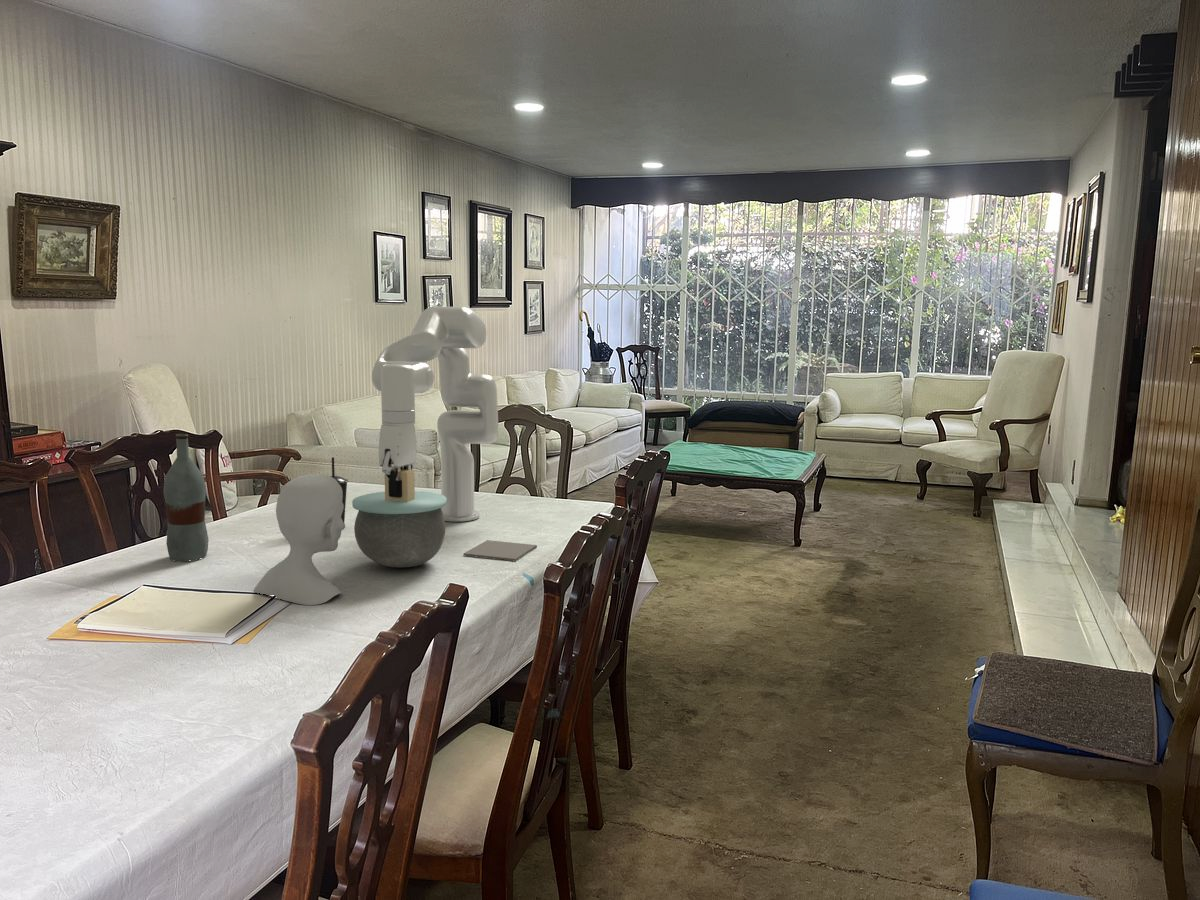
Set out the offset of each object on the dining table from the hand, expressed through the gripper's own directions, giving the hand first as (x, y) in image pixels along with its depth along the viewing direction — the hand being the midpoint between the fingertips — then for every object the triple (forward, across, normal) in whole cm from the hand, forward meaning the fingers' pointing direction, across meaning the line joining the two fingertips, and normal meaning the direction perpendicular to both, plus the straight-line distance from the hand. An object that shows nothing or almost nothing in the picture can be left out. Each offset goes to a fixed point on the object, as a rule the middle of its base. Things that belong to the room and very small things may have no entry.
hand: (399, 494), depth 208 cm
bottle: (+17, +12, -51) cm, 55 cm away
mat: (+17, -20, +17) cm, 31 cm away
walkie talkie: (+17, -25, -35) cm, 46 cm away
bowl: (+17, 0, 0) cm, 17 cm away
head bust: (+17, +22, -9) cm, 30 cm away
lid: (+2, 0, 0) cm, 2 cm away
